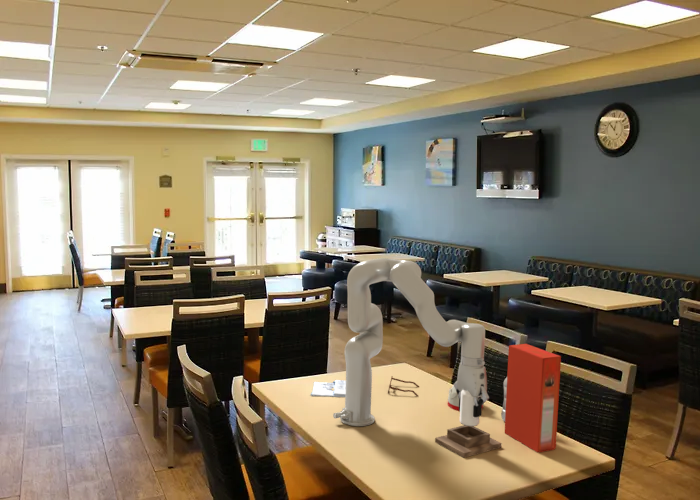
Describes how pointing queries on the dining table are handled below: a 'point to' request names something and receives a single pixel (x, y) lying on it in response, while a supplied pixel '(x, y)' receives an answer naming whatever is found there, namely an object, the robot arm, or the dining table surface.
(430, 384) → the dining table surface
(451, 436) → the caddy
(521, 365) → the file binder
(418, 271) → the robot arm
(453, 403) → the kitchen timer
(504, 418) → the plastic bottle
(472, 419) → the can
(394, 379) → the glasses
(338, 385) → the open book
